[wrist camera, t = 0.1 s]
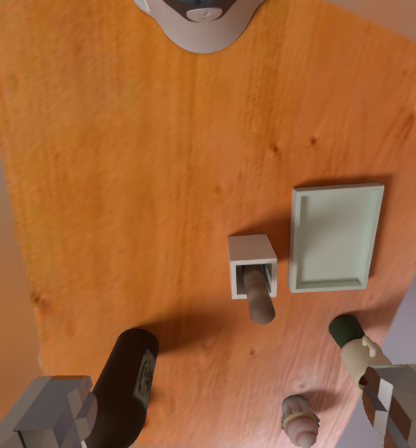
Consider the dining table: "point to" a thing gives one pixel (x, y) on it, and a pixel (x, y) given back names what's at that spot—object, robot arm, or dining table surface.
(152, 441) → the dining table surface
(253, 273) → the walnut pin
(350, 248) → the sage tray
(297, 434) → the cupcake
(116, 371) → the olive oil
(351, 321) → the character mug
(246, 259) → the white square sleeve
